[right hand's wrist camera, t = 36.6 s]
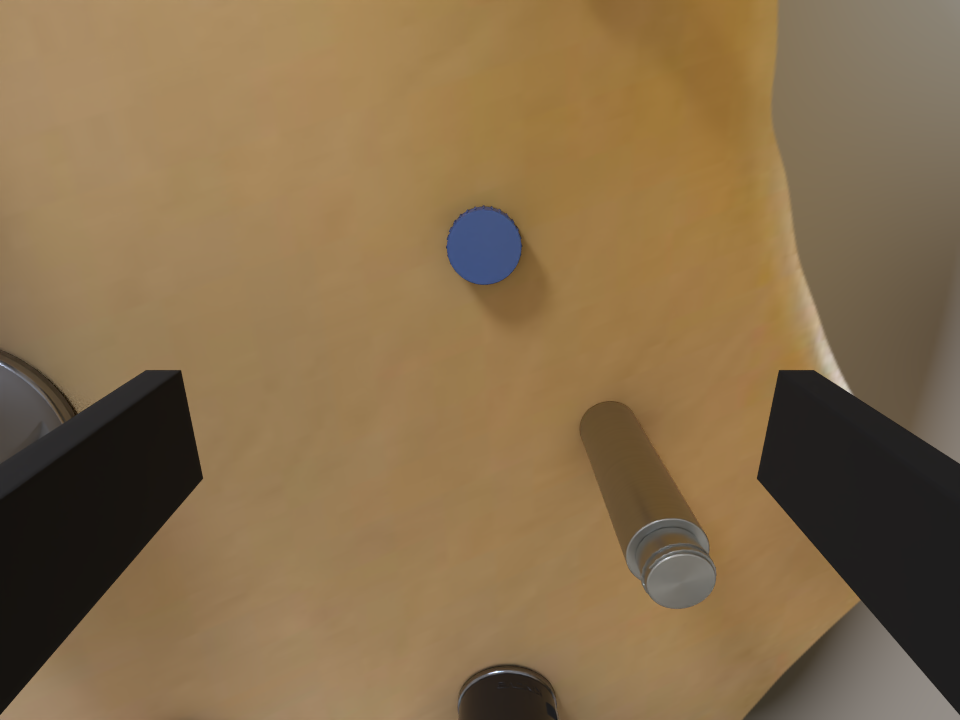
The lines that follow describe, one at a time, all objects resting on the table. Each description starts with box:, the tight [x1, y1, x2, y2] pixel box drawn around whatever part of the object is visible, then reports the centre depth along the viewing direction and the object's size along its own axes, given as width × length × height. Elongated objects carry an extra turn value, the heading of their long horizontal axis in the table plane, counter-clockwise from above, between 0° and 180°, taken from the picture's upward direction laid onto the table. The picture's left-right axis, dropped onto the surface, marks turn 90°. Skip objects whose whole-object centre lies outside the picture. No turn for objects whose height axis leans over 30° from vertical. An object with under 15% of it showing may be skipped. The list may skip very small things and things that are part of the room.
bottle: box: [580, 402, 716, 609], centre depth 35 cm, size 4×4×17 cm
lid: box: [446, 206, 522, 285], centre depth 37 cm, size 5×5×2 cm
